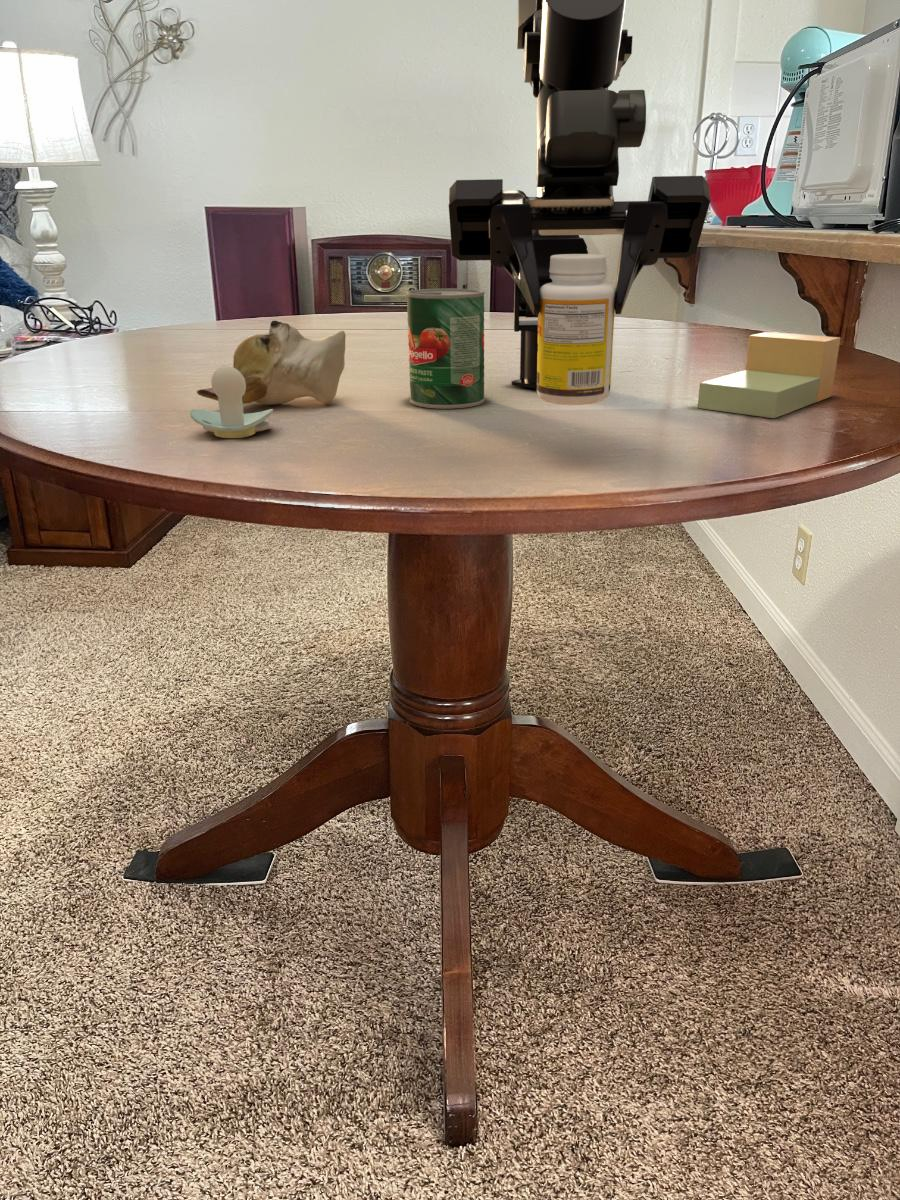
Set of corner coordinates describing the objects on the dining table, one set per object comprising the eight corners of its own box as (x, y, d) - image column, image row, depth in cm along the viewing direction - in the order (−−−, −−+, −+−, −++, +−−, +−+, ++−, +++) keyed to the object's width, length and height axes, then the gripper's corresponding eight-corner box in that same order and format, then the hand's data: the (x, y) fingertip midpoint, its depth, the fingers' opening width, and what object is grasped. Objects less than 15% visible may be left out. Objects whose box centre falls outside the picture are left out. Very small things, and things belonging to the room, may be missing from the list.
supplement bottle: (562, 389, 71) (567, 252, 67) (623, 397, 68) (632, 254, 63) (521, 401, 67) (523, 256, 63) (583, 410, 64) (590, 258, 60)
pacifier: (205, 428, 84) (187, 440, 78) (198, 360, 82) (179, 368, 76) (282, 427, 84) (270, 440, 78) (277, 359, 82) (264, 367, 76)
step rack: (697, 408, 89) (703, 346, 86) (758, 388, 98) (765, 331, 96) (774, 418, 84) (783, 353, 81) (831, 396, 93) (840, 337, 91)
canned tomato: (497, 397, 95) (498, 289, 91) (463, 411, 89) (462, 295, 84) (432, 392, 98) (430, 287, 94) (395, 405, 92) (391, 293, 88)
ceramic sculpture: (339, 320, 85) (183, 333, 85) (349, 410, 89) (200, 422, 89) (346, 310, 95) (207, 321, 95) (356, 391, 99) (221, 402, 99)
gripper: (448, 52, 62) (439, 228, 56) (719, 45, 61) (738, 224, 55) (455, 179, 72) (449, 338, 67) (687, 175, 71) (700, 337, 66)
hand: (577, 310), depth 63 cm, fingers closed on supplement bottle, 5 cm apart
